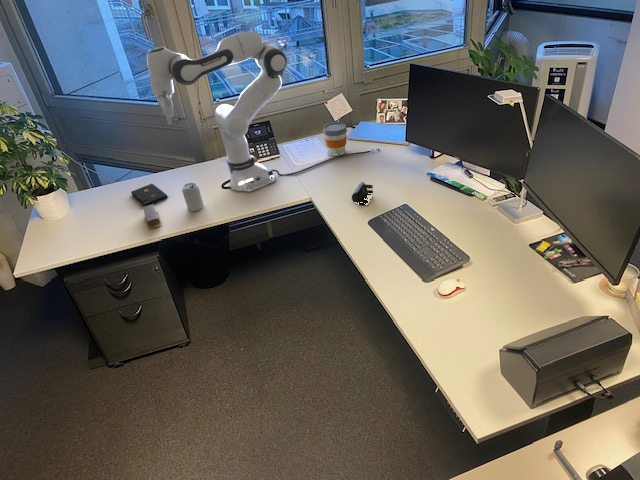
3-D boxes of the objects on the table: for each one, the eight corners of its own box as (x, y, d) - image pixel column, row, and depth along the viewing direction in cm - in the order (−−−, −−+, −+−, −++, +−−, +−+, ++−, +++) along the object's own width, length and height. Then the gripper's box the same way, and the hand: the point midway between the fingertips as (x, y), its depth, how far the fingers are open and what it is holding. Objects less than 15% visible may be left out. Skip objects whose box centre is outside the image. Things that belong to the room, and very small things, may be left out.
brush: (156, 212, 219) (153, 204, 216) (161, 226, 208) (158, 217, 205) (145, 215, 217) (142, 207, 214) (150, 229, 206) (147, 221, 204)
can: (200, 212, 215) (193, 189, 208) (185, 211, 216) (178, 189, 209) (206, 203, 221) (200, 181, 214) (192, 203, 222) (185, 181, 215)
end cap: (358, 194, 215) (357, 181, 211) (373, 195, 213) (372, 182, 209) (351, 205, 208) (351, 191, 204) (367, 206, 205) (366, 193, 201)
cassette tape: (131, 195, 235) (130, 191, 234) (153, 186, 241) (151, 182, 240) (145, 207, 223) (144, 203, 222) (167, 198, 229) (166, 194, 228)
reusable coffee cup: (337, 145, 261) (335, 120, 252) (352, 151, 253) (351, 125, 244) (320, 153, 255) (318, 127, 246) (335, 159, 247) (333, 133, 238)
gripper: (174, 94, 187) (179, 127, 195) (166, 82, 203) (171, 113, 210) (158, 96, 185) (164, 129, 193) (151, 83, 201) (157, 115, 208)
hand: (168, 121), depth 202 cm, fingers open, 8 cm apart
